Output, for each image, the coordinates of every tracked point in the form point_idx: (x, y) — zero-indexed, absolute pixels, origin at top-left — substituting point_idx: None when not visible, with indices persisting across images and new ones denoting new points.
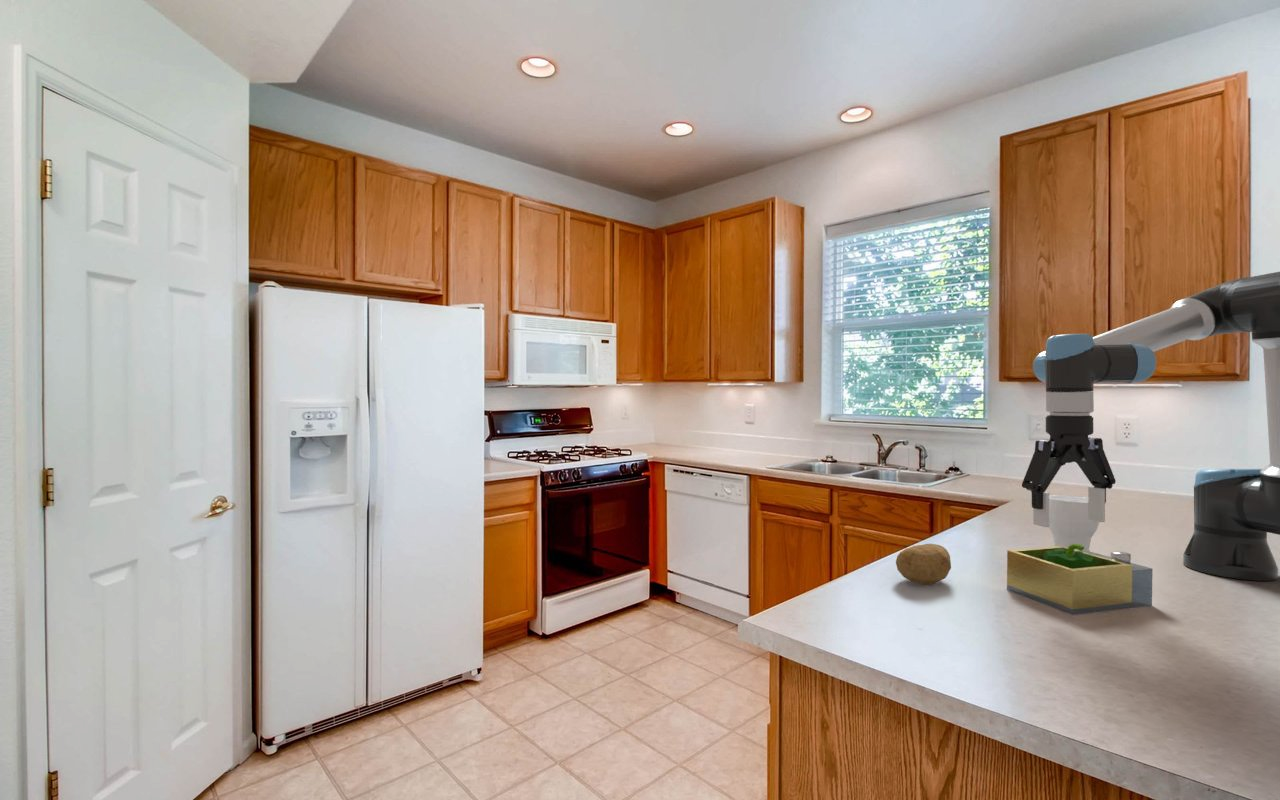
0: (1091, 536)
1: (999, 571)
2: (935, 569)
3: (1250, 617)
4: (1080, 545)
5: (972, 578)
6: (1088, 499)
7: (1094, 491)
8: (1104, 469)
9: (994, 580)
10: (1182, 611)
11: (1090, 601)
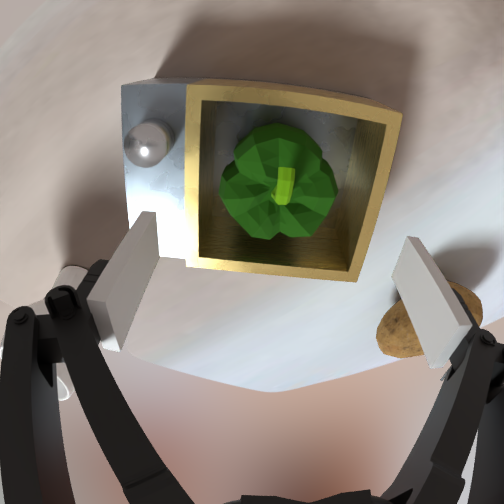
0: (43, 299)
1: (248, 300)
2: (458, 290)
3: (59, 8)
4: (285, 177)
5: (333, 290)
6: (137, 307)
7: (119, 317)
8: (35, 390)
9: None
10: (132, 42)
11: (327, 91)
